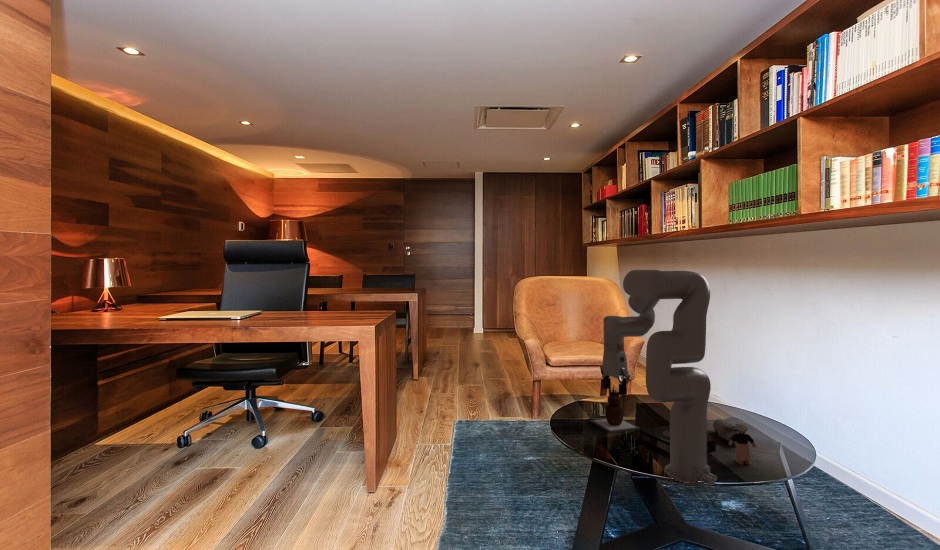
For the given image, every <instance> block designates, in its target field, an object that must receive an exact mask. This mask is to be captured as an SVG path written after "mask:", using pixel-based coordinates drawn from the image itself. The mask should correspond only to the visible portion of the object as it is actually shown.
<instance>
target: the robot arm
mask: <svg viewBox="0 0 940 550" xmlns="http://www.w3.org/2000/svg"><path fill="white" fill-rule="evenodd" d="M622 288H623V290H624V292H625V294H627V296H629V297H628V298H627V301H628V305H629V307H630V309H631V310H632V311H633V312H635V313H636V314H637V316H619V315H607V316H606V315H605V316H604V317H603V355H602V364H601V365H599V369H600V373H601V378H602V387H603V390H607V389H608V390H609V385H610V388H611V389H612V387H611V386H612V384H611V383H612V382H611V381H612V380H611V378H614V379H616V380H617V381H618V383H619V384H618V392H619V396H624V395H627V394H628V387H627V385H628V383H629V381H630V378H631V373H630V372H629V371H628V369H629V368H628V359H627V355H626V352H625V338H631V337H632V338H634V337H636V338H637V337H642V336H645V335H646V334H647V333H648V332H649V331H651V328H652V327H653V326H654V324H655V322H656V321H655V320H656V314H655V309H654V308H655V307H656V305H657V304H658V303H659V302H660V301H661V300H681V302H680V303H679V304H678V305H677V306H676V309H675V311H674V313H673V315H672V318H673V319H672V321H673V322H672V329H671V330H659V331H655V332H653V333H652V334H651V335H650V336H649V337H648V340H647V343H646V351H645V387H646V392H647V394H648V396H649V397H650V399H652V400H653V401H655V402H659V403H673V404H672V406H671V408H670V412H669V425H670V455H669V458H670V459H669V460H670V461H669V462H670V463H668V464H666V465H665V466H664V474H665V473H666V474H667V475H668V476H669V477H671V478H673V479H674V480H673V481H675V482H677V481H681V482H689V483H681V482H678V483H679V484H683V485H686V486H692V487H707V486H714V484H715V483H716V481H717V480H718V476H717V475H716V474H713V473H711V466H710V465H708V453H707V437H708V432H707V431H708V430H707V428H708V420H707V419H708V403H709V399H710V394H711V389H712V388H711V387H712V385H711V381H710V377H709V376H708V374H707V373H706V372H705V371H704V370H702V369H701V368H698V367H694V366H676V367H675V366H673V365H682V364H694V363H695V364H696V363H700V362H701V361H703V359H704V358H705V354H706V346H707V339H706V338H707V314H708V309H709V306H710V305H709V304H710V302H711V301H710V299H711V287H710V284H709V283H708V280H707V279H706V278H705V276H704V275H702V274H701V273H698V272H695V271H689V270H658V269H631V270H630V271H628V272H627V274H625V276H624V277H623V282H622ZM638 314H639V315H638ZM672 366H673V367H672ZM666 474H665V475H666ZM667 475H666V476H667ZM668 476H667V477H668ZM669 477H668V478H669ZM671 478H670V479H671ZM698 481H705V482H698ZM704 483H708V484H704Z"/></svg>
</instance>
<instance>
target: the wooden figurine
mask: <svg viewBox="0 0 940 550" xmlns="http://www.w3.org/2000/svg"><path fill="white" fill-rule="evenodd" d="M621 404H622V398H621V395H619V391H617V389H615V386H612V387H611V388H610V385H609V389H608V396H607V405H605V408H604V412H605V418H606V419H607V422H608V423H609V424H611V425H620V424H621V423H622V421H623V420H624V414H625V410H624V408H623V406H622V405H621Z"/></svg>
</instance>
